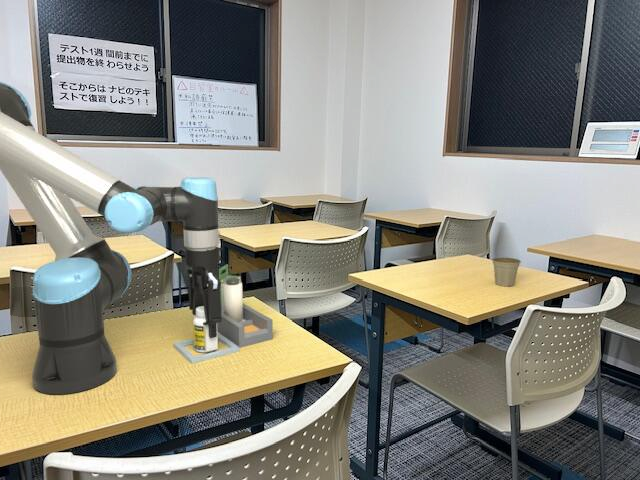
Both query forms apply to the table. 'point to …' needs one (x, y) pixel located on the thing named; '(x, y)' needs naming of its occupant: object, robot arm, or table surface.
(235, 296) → the white thermos bottle
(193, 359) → the grey square frame
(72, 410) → the table surface
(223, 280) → the ink box
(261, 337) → the grey cubby shelf
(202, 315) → the supplement bottle
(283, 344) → the table surface
